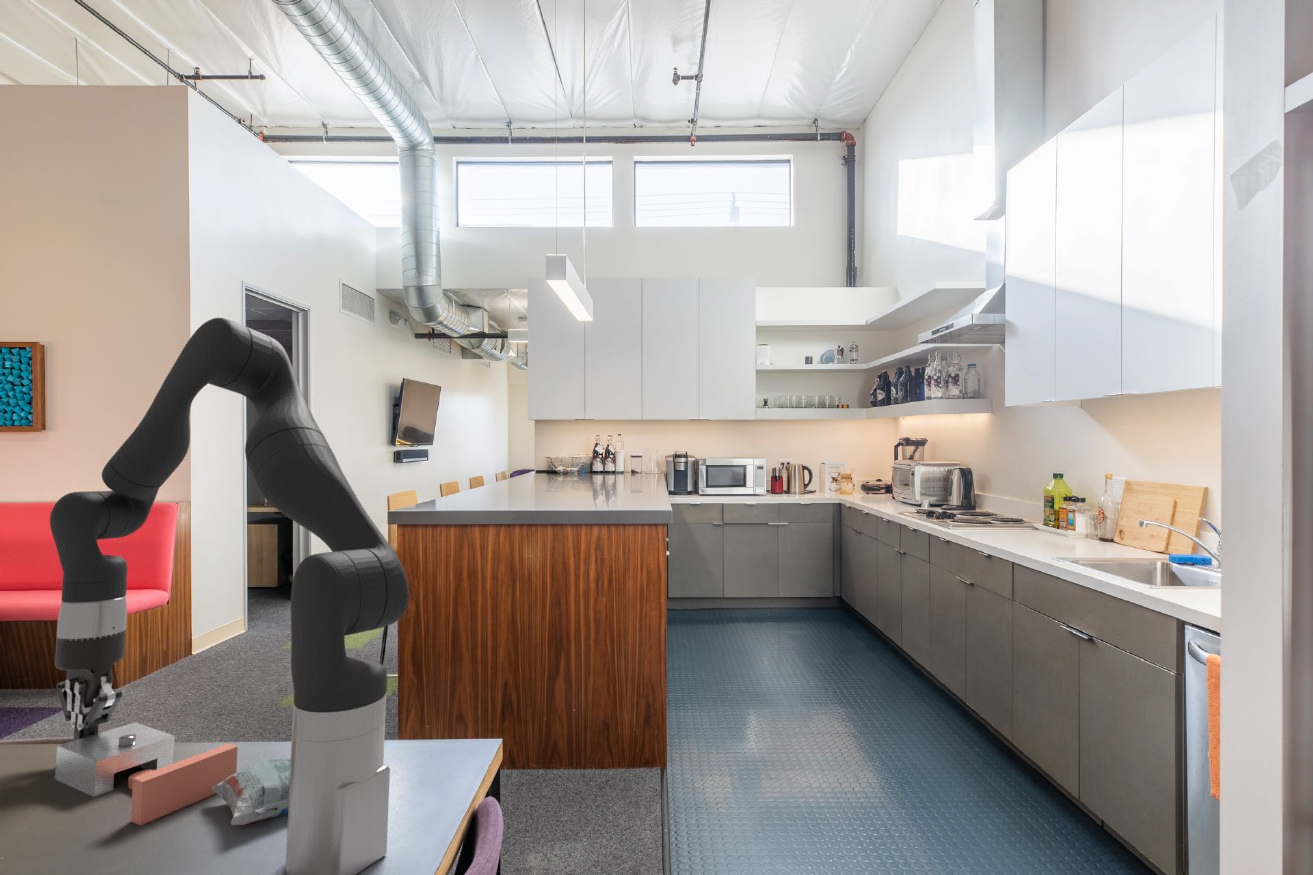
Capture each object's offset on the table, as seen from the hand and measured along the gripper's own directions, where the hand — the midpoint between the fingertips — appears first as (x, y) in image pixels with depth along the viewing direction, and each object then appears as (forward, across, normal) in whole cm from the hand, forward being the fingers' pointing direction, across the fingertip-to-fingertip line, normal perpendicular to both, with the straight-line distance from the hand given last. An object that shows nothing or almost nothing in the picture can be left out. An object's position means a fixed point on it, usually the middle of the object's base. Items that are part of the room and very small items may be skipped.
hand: (84, 753), depth 91 cm
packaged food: (+2, -34, -3) cm, 34 cm away
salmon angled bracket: (+1, -20, 0) cm, 20 cm away
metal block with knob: (+1, -8, 0) cm, 8 cm away
